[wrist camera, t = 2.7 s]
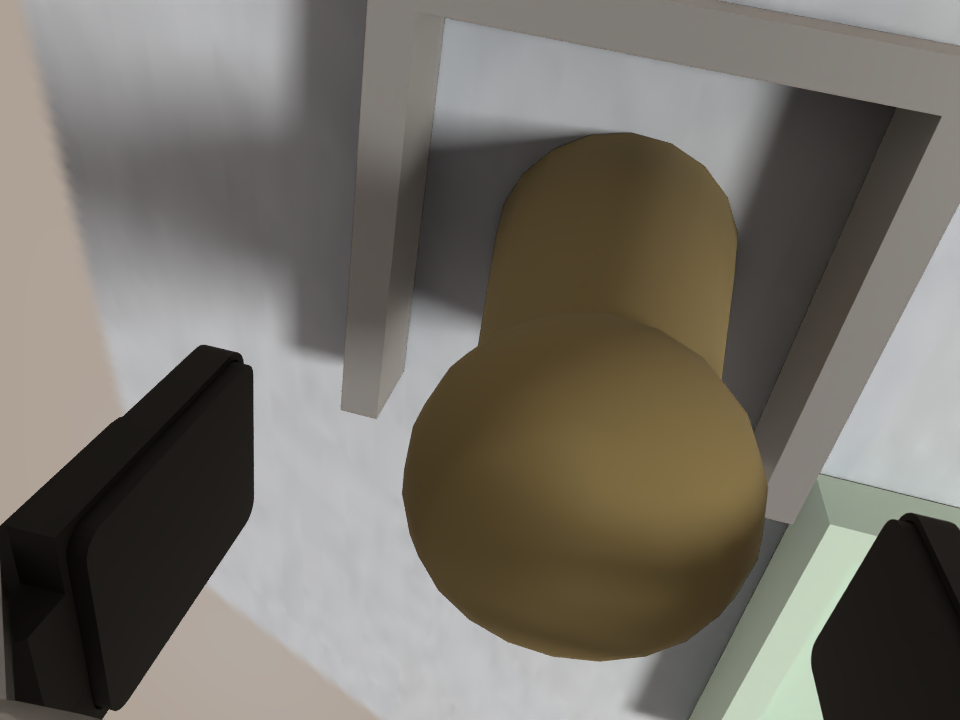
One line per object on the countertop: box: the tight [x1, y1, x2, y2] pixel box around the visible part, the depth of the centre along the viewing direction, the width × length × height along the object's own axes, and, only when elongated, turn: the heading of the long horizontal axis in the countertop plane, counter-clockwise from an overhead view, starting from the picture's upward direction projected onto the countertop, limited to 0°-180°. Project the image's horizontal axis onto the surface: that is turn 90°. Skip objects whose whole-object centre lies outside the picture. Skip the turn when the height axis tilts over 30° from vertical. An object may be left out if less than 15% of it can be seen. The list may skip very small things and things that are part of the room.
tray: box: [689, 474, 960, 720], centre depth 22 cm, size 12×12×2 cm
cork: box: [402, 133, 768, 661], centre depth 14 cm, size 6×6×11 cm
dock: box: [341, 0, 960, 525], centre depth 17 cm, size 12×11×2 cm
